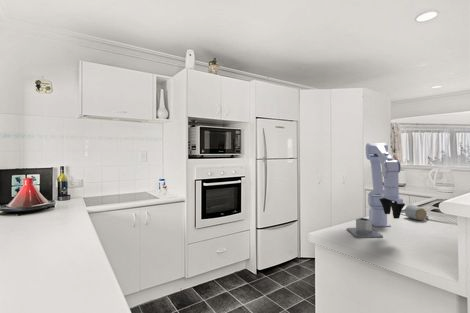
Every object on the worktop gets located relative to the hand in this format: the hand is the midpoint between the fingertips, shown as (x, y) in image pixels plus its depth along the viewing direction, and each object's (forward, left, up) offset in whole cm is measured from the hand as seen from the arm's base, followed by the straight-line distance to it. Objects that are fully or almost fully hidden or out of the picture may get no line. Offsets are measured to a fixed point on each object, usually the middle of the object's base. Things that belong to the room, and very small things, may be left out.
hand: (391, 216), depth 118 cm
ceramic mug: (-30, +30, -10) cm, 44 cm away
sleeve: (-6, -10, -9) cm, 15 cm away
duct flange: (-6, -10, -10) cm, 15 cm away
